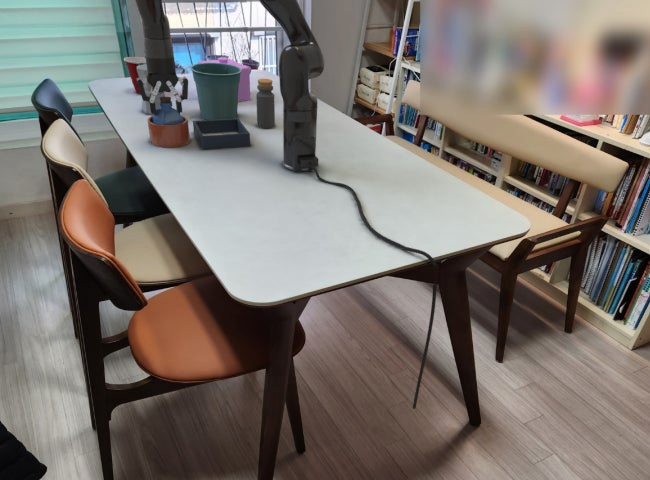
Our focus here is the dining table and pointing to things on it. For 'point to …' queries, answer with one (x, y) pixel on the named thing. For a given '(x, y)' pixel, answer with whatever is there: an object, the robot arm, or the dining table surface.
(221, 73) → the flower pot
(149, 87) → the coffee maker
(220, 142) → the tray
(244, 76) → the teapot
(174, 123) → the perfume bottle
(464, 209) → the dining table surface
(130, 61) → the plastic cup
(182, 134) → the round terracotta bowl
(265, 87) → the bottle
